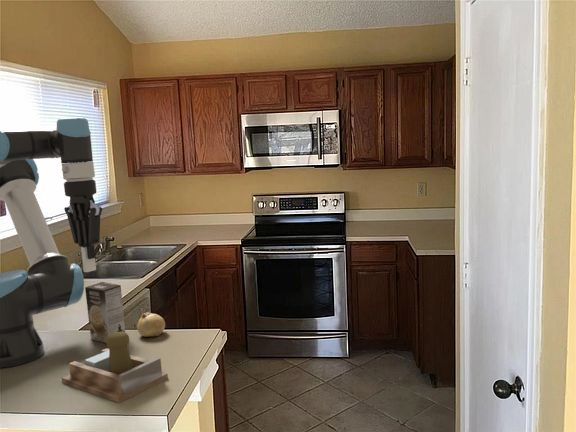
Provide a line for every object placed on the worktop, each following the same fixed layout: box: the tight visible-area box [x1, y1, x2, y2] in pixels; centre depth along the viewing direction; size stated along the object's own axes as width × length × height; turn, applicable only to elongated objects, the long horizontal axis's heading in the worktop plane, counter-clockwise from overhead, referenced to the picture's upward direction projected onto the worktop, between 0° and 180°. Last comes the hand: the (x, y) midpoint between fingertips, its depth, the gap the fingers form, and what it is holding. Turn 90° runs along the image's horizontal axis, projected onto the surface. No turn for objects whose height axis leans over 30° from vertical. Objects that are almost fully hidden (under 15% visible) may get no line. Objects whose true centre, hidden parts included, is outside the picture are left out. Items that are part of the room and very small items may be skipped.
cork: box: [105, 331, 133, 375], centre depth 129 cm, size 6×6×11 cm
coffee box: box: [84, 281, 126, 344], centre depth 160 cm, size 9×6×16 cm
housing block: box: [84, 350, 109, 372], centre depth 133 cm, size 4×7×4 cm, turn 144°
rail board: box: [61, 347, 169, 404], centre depth 131 cm, size 22×14×6 cm, turn 54°
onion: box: [136, 311, 166, 338], centre depth 162 cm, size 8×8×7 cm
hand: (90, 270), depth 141 cm, fingers closed
